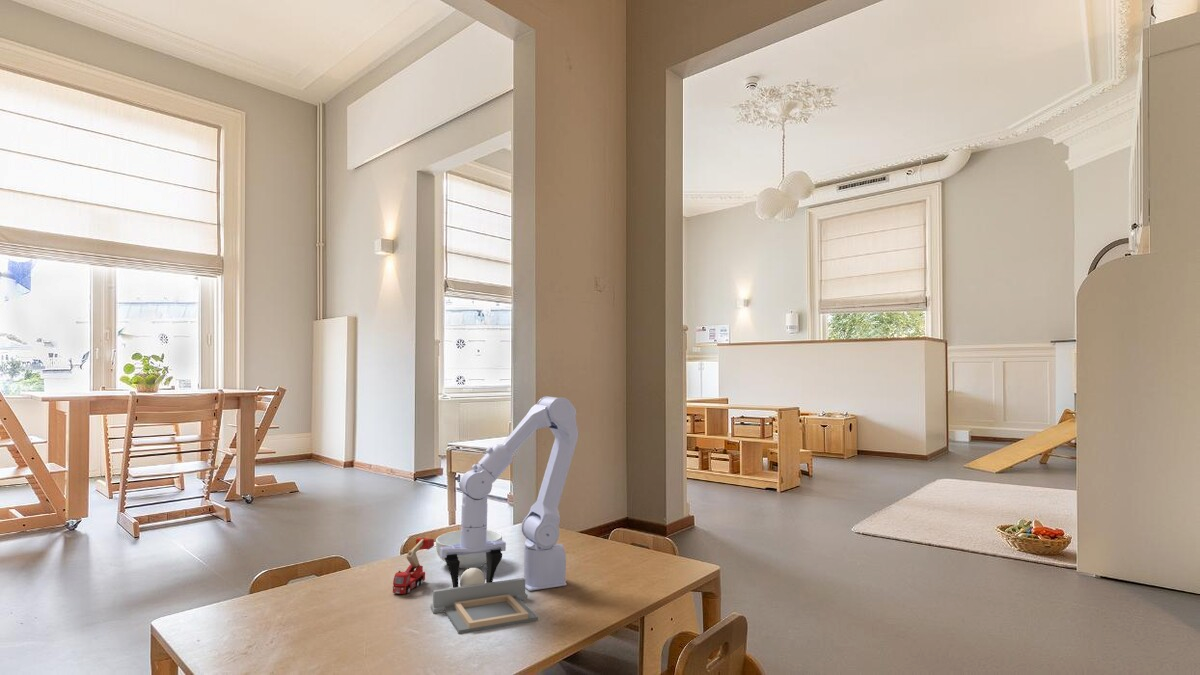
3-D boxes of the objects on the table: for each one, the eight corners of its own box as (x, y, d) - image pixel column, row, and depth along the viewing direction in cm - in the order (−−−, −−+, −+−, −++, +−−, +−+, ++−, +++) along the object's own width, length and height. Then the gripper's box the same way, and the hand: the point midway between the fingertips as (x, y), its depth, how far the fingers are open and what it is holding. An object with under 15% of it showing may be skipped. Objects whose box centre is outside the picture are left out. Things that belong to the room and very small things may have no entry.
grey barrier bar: (522, 594, 139) (523, 576, 139) (527, 598, 136) (527, 580, 137) (430, 608, 130) (431, 588, 130) (433, 613, 127) (434, 593, 128)
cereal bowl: (471, 551, 173) (471, 525, 173) (514, 562, 163) (515, 535, 163) (421, 565, 159) (422, 537, 159) (465, 579, 149) (466, 549, 150)
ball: (480, 588, 143) (481, 563, 143) (487, 596, 138) (488, 570, 138) (456, 591, 140) (457, 566, 141) (462, 599, 135) (463, 573, 136)
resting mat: (517, 600, 135) (518, 592, 136) (537, 620, 125) (537, 611, 125) (444, 611, 128) (444, 603, 128) (458, 633, 118) (458, 625, 118)
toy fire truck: (390, 595, 137) (392, 550, 138) (420, 575, 151) (421, 535, 151) (404, 596, 137) (406, 551, 137) (433, 577, 150) (434, 536, 151)
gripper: (499, 518, 147) (498, 576, 146) (437, 523, 140) (435, 585, 139) (509, 524, 140) (507, 586, 140) (444, 531, 134) (442, 595, 133)
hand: (472, 586), depth 139 cm, fingers open, 7 cm apart
